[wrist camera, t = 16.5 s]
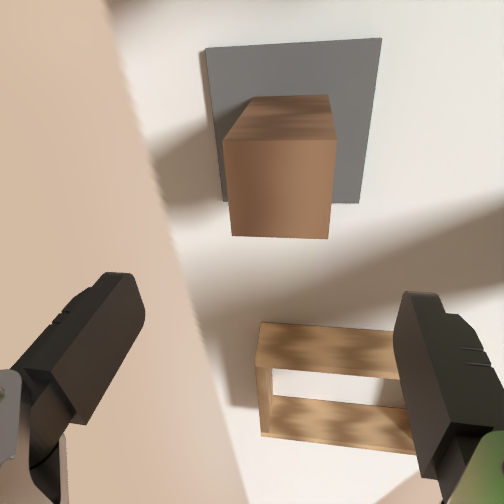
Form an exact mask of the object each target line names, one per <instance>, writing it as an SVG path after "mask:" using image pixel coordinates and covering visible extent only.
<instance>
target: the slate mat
mask: <svg viewBox="0 0 504 504" xmlns="http://www.w3.org/2000/svg"><path fill="white" fill-rule="evenodd" d="M381 43H382V38H369V39H351V40H334V41H317V42H300V43H283V44H266V45H249V46H232V47H215V48H206V49H205V52H206V60H207V69H208V77H209V85H210V94H211V102H212V111H213V119H214V127H215V136H216V144H217V153H218V161H219V170H220V178H221V186H222V195H223V202H228V193H227V184H226V174H225V164H224V155H223V145H222V141H223V139H224V138H225V136H226V135H227V134H228V132H229V131H230V129H231V128H232V127H233V125H234V124H235V122H236V121H237V120H238V118H239V117H240V115H241V114H242V113H243V111H244V110H245V108H246V107H247V106H248V104H249V103H250V101H251V100H252V99H253V97H260V96H293V95H327V94H328V96H329V101H330V106H331V111H332V116H333V121H334V126H335V131H336V136H337V148H336V159H335V170H334V180H333V191H332V202H331V203H359V199H360V192H361V185H362V178H363V171H364V163H365V156H366V149H367V142H368V135H369V128H370V121H371V114H372V107H373V100H374V93H375V86H376V78H377V71H378V64H379V57H380V50H381Z"/></svg>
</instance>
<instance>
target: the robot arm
mask: <svg viewBox="0 0 504 504" xmlns="http://www.w3.org/2000/svg"><path fill="white" fill-rule="evenodd" d="M144 321H145V308H144V305H143V302H142V299H141V296H140V293H139V290H138V287H137V284H136V281H135V278H134V277H133V275H132V274H130V273H115V272H106V273H104V274H103V275H102V276H101V277H100V278H99V279H98V280H97V282H96V283H95V284H94V285H93V286H92V287H89V288H87V289H85V290H84V291H82V292H81V293H79V294H78V295H77V296H75V297H74V298H73V299H72V300H71V301H70V302H69V303H68V304H67V305H66V306H65V308H64V309H63V310H62V313H61V314H60V313H59V314H58V316H57V317H56V318H55V319H54V320H53V321H52V324H51V325H49V326H48V327H47V328H46V329H45V330H44V331H43V333H42V334H41V335H40V336H39V337H38V338H37V339H36V340H35V341H34V343H33V344H32V345H31V346H30V347H29V348H28V349H27V351H26V352H25V353H24V354H23V355H22V356H21V357H20V359H19V360H18V361H17V362H16V363H15V364H14V365H13V366H12V367H11V368H10V369H9V370H8V369H6V370H0V504H69V492H68V471H67V453H66V438H65V435H64V433H63V432H64V431H65V429H66V428H67V426H68V424H69V423H74V424H80V425H87V423H88V421H89V419H90V418H91V416H92V414H93V412H94V411H95V409H96V407H97V405H98V404H99V402H100V400H101V399H102V397H103V395H104V393H105V391H106V390H107V388H108V386H109V385H110V383H111V381H112V379H113V378H114V376H115V374H116V372H117V371H118V369H119V367H120V365H121V364H122V362H123V360H124V359H125V357H126V355H127V353H128V352H129V350H130V348H131V346H132V344H133V343H134V341H135V339H136V338H137V336H138V334H139V332H140V331H141V329H142V327H143V324H144ZM483 349H484V348H483V346H482V344H481V342H480V340H479V338H478V336H477V334H476V332H475V330H474V329H473V328H472V327H471V326H470V325H469V324H468V323H467V322H466V321H465V320H464V319H463V318H462V317H461V316H460V315H459V314H448V313H446V312H445V310H444V307H443V305H442V303H441V300H440V298H439V296H438V295H437V294H436V293H426V292H410V291H405V292H404V294H403V297H402V300H401V304H400V308H399V312H398V315H397V319H396V323H395V327H394V331H393V350H394V355H395V360H396V365H397V369H398V374H399V378H400V383H401V387H402V392H403V396H404V401H405V405H406V410H407V414H408V419H409V424H410V428H411V433H412V437H413V442H414V446H415V451H416V455H417V460H418V464H419V469H420V473H421V477H422V478H428V479H434V480H438V482H439V486H440V490H441V494H442V499H441V501H440V503H439V504H504V388H503V386H502V384H501V382H500V380H499V378H498V376H497V374H496V372H495V370H494V368H492V367H491V362H490V360H489V358H488V356H487V354H486V352H484V351H483Z"/></svg>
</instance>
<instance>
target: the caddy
mask: <svg viewBox="0 0 504 504" xmlns="http://www.w3.org/2000/svg"><path fill="white" fill-rule="evenodd" d="M255 368H256V380H257V392H258V404H259V416H260V428H261V436H263V437H271V438H280V439H288V440H296V441H304V442H312V443H320V444H328V445H336V446H344V447H353V448H361V449H369V450H377V451H385V452H393V453H401V454H409V455H416V451H415V446H414V442H413V437H412V433H411V428H410V424H409V419H408V414H407V410H406V409H400V408H390V407H381V406H371V405H361V404H352V403H342V402H332V401H323V400H313V399H303V398H294V397H284V396H275V395H273V385H272V368H277V369H288V370H299V371H310V372H321V373H332V374H343V375H354V376H365V377H376V378H387V379H398V380H400V378H399V374H398V369H397V365H396V360H395V355H394V350H393V331H379V330H364V329H350V328H336V327H322V326H307V325H293V324H279V323H265V322H261V326H260V332H259V338H258V344H257V350H256V356H255Z"/></svg>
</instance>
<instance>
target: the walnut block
mask: <svg viewBox="0 0 504 504" xmlns="http://www.w3.org/2000/svg"><path fill="white" fill-rule="evenodd" d="M222 145H223V155H224V164H225V174H226V184H227V193H228V203H229V212H230V222H231V232H232V236H248V237H277V238H306V239H328V234H329V223H330V212H331V202H332V191H333V180H334V170H335V159H336V148H337V136H336V131H335V126H334V121H333V116H332V111H331V106H330V101H329V96H328V94H327V95H293V96H260V97H253V99H252V100H251V101H250V103H249V104H248V106H247V107H246V108H245V110H244V111H243V113H242V114H241V115H240V117H239V118H238V120H237V121H236V122H235V124H234V125H233V127H232V128H231V129H230V131H229V132H228V134H227V135H226V136H225V138H224V139H223V141H222Z"/></svg>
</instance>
